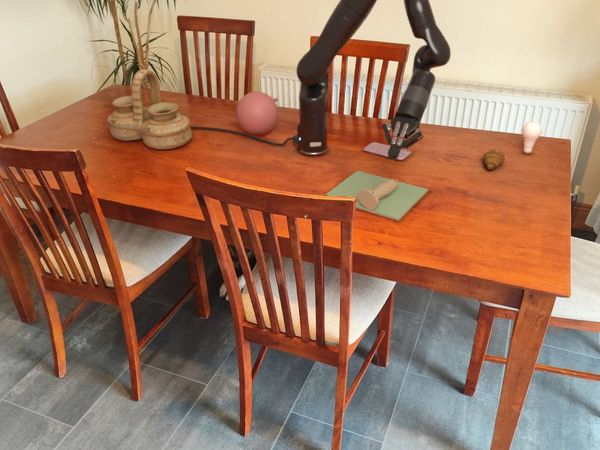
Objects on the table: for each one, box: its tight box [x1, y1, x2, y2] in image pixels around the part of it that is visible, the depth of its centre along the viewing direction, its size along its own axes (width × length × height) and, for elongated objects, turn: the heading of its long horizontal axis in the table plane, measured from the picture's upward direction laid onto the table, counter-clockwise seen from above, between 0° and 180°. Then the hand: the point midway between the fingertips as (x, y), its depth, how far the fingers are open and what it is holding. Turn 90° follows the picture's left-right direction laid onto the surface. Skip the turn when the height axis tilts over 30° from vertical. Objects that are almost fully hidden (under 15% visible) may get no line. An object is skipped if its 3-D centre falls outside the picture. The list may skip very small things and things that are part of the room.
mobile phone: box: [363, 141, 412, 161], centre depth 186 cm, size 8×1×15 cm
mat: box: [324, 170, 429, 222], centre depth 161 cm, size 24×20×1 cm
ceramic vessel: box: [106, 68, 193, 150], centre depth 195 cm, size 34×18×25 cm, turn 61°
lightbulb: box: [521, 120, 543, 154], centre depth 181 cm, size 6×6×11 cm
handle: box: [358, 178, 399, 210], centre depth 157 cm, size 5×6×15 cm
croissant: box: [482, 148, 506, 171], centre depth 176 cm, size 14×7×5 cm, turn 155°
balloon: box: [235, 91, 279, 136], centre depth 201 cm, size 15×20×15 cm
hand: (391, 158), depth 158 cm, fingers closed
